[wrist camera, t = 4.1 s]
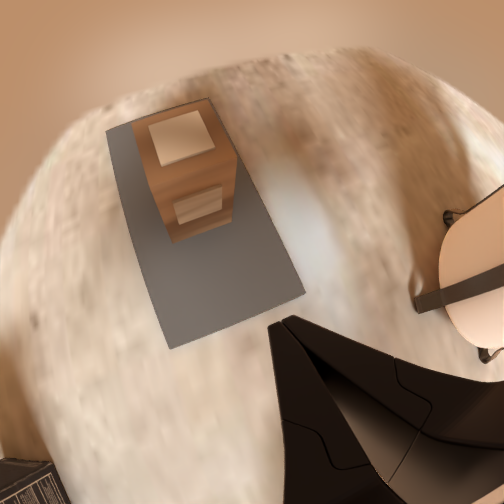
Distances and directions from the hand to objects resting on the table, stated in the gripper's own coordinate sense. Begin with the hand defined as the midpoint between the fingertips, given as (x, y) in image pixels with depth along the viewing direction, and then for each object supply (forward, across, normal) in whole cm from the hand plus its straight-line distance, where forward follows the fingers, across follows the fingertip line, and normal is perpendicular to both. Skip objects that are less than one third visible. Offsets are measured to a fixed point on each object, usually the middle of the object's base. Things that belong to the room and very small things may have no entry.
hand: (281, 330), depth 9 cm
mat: (+17, 0, +1) cm, 17 cm away
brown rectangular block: (+16, 0, +1) cm, 16 cm away
